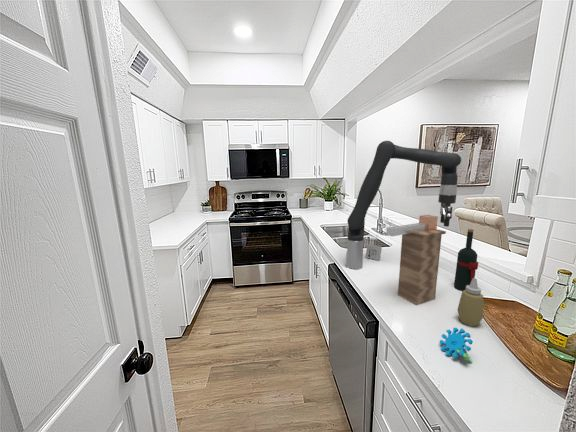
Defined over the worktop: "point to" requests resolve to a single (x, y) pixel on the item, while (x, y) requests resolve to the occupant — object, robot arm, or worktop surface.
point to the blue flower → (456, 343)
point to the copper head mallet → (415, 226)
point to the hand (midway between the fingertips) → (444, 224)
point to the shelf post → (419, 266)
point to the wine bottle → (466, 264)
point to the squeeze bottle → (471, 305)
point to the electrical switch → (373, 252)
